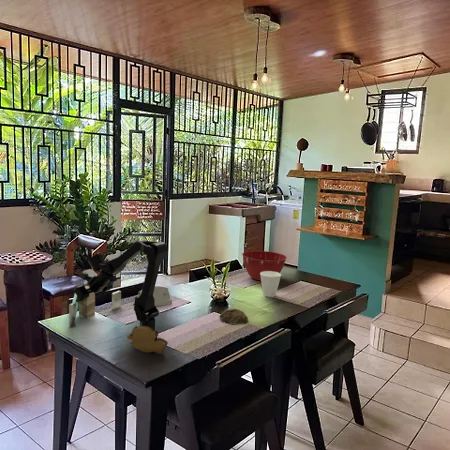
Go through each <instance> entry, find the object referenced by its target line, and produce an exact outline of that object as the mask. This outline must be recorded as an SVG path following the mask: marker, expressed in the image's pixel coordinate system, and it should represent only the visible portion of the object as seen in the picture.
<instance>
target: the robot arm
mask: <svg viewBox="0 0 450 450" xmlns="http://www.w3.org/2000/svg"><path fill="white" fill-rule="evenodd" d="M168 251H169V247H168V246H167V244H166V243H165V242H164V241H159V242H158V241H153V240H152V241H151V240H145V239H140V240H136V241H135V242H133V244H132V245H131V246H129V247H128V248H127V249H126V250H124V251H123V252H122V253H121V254H120V255H119V256H117V257H115V258H112V259H111V260H108V261H106V260H105V258H104V257H103V255H102V253H101V252H98V253H96V254H94V255H93V256H91V257H89V258H88V259H87V262H88V263H89V265H90V267H91V268H92V269H91V268H89V269H85V270H83V271H82V272H81V273H80V275H79V277H80V279H82V280H83V281H86V284H87V286H89V288H88V289H86V288H85V286H86V285H83V284H80V285H77V286H75V287H74V289H73V293H74V295H75V294H76V295H77V298H76V302H78V303H79V302H80V301H83V300H85V299H87V298H88V297H89V294H90V293H93V292H94V294H95V297H96V296H98V295H101V294H104V293H107V292H110V291H111V290H112V289H113V285H112V283H113V282H117V281H118V279H117V275H116V274H118V273H121V272H122V271H124V269H125V268H126V267H127V264H128V262H130V261H131V260H133V259H134V258H135V257H136V256H137V255H139V254H140V253H142V254H143V255H146V259H147V261H148V264H147V267H146V271H145V277H144V281H143V286H142V289H141V290H142V293H141V295H138V294H137V295H136V296H134V302H133V305H132V306H133V310H134V311H133V312H134V313H135V316H136V317H135V318H136V320H137V321H139V326H147V327H150V328H152V329H153V330H157V333H159V330H158V329H156V317H158V316H159V315H160V311H159V309H158V308H157V306H155V305H154V303H155V300H154V297H153V293H154V288H155V286H156V283H157V279H158V274H159V272H160V271H159V270H160V266H161V264H162V263H163V261H164V260H165V258H166V257H167V253H168Z"/></svg>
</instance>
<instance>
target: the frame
mask: <svg viewBox="0 0 450 450" xmlns="http://www.w3.org/2000/svg"><path fill="white" fill-rule="evenodd" d="M121 307H122V291H121V290H117V291H114V292H112V293H111V310H117V309H119V308H121ZM68 314H69V315H68V318H69V319H68V324H69V325H68V327H69V328H70V329H74V328H76V318H75V304H74V303H69V305H68Z"/></svg>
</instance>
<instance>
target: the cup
mask: <svg viewBox="0 0 450 450" xmlns="http://www.w3.org/2000/svg"><path fill="white" fill-rule="evenodd" d="M260 276H261V281H260V282H261V289H262V294H263V297H266V296H267V298H274V297H273V296H275V297H276V294H277V291H278V288H279V284H280V281H281V277H282V274H281V272H280V273H278V272H273V271H264V272H261V273H260Z"/></svg>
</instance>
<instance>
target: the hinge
mask: <svg viewBox="0 0 450 450" xmlns="http://www.w3.org/2000/svg"><path fill="white" fill-rule="evenodd" d="M141 293H142V289H141V290H139V291H138V294H137V296H138V295H141ZM153 297H154V300H155V303H154V305H155V306H156V307H160V306H165V305H172V302H173V301H172V298H171V295H170V292H169V288H168V287H167V286H166V287H165V286H163V285H162V286H160V285H155V288H154V293H153Z"/></svg>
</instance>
